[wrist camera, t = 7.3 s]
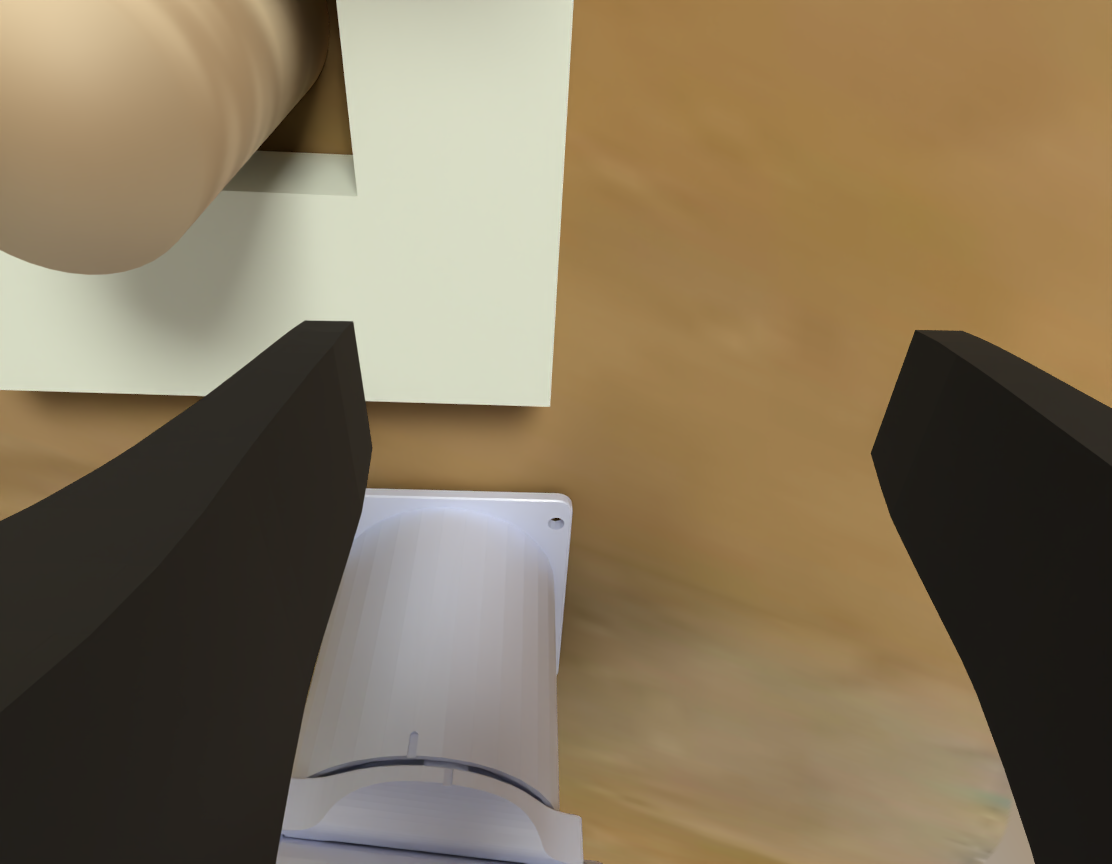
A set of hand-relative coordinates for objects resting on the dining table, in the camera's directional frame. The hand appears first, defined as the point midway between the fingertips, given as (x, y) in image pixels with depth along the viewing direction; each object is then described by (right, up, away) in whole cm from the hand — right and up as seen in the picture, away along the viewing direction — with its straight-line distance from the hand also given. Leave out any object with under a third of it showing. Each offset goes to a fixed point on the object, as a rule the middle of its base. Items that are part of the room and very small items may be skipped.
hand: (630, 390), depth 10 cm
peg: (-8, +8, +6) cm, 13 cm away
